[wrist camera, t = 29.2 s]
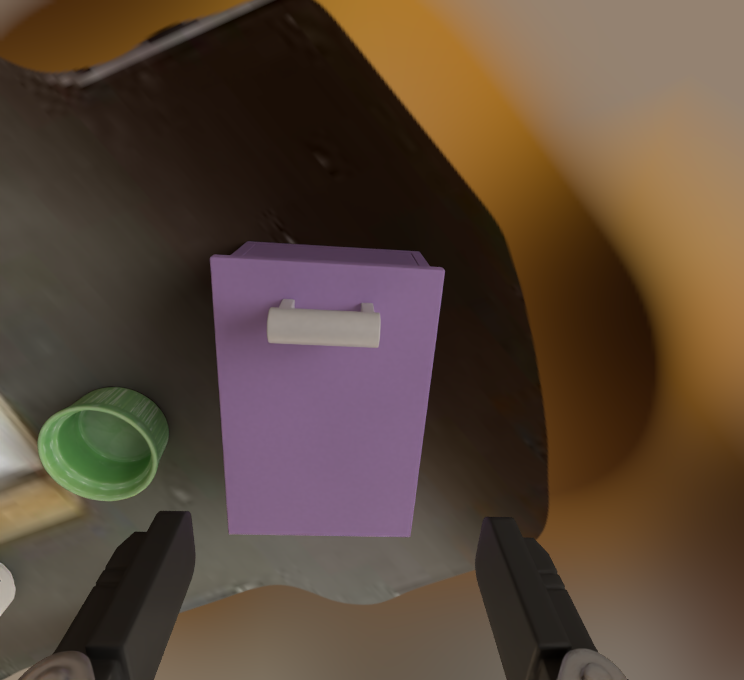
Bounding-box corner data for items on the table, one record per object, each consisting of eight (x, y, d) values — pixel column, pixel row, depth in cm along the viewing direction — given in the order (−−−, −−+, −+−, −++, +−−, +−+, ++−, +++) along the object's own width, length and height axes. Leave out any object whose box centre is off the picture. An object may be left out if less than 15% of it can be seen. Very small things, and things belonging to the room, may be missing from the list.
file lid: (213, 254, 25) (180, 276, 20) (442, 267, 26) (463, 291, 21) (231, 526, 33) (210, 589, 28) (409, 529, 33) (418, 591, 29)
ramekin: (132, 483, 42) (108, 519, 37) (47, 421, 39) (11, 453, 35) (197, 428, 40) (180, 460, 36) (113, 359, 37) (84, 384, 33)
